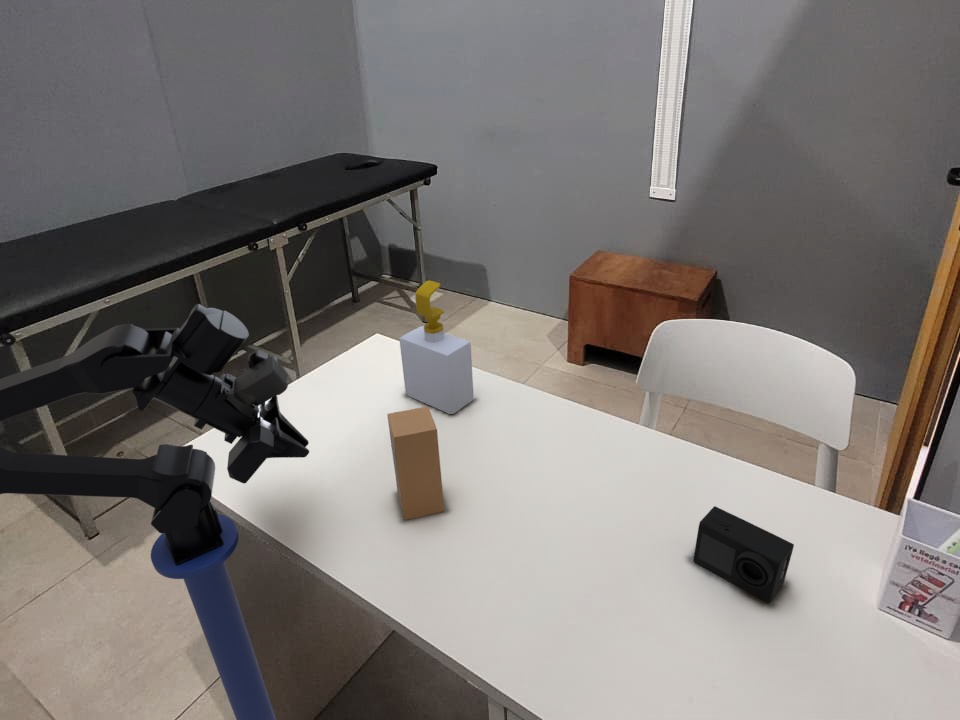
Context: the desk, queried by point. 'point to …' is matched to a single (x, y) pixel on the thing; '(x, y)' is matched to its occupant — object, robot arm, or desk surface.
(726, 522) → the digital camera
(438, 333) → the soap bottle
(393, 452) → the carton
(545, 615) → the desk surface
